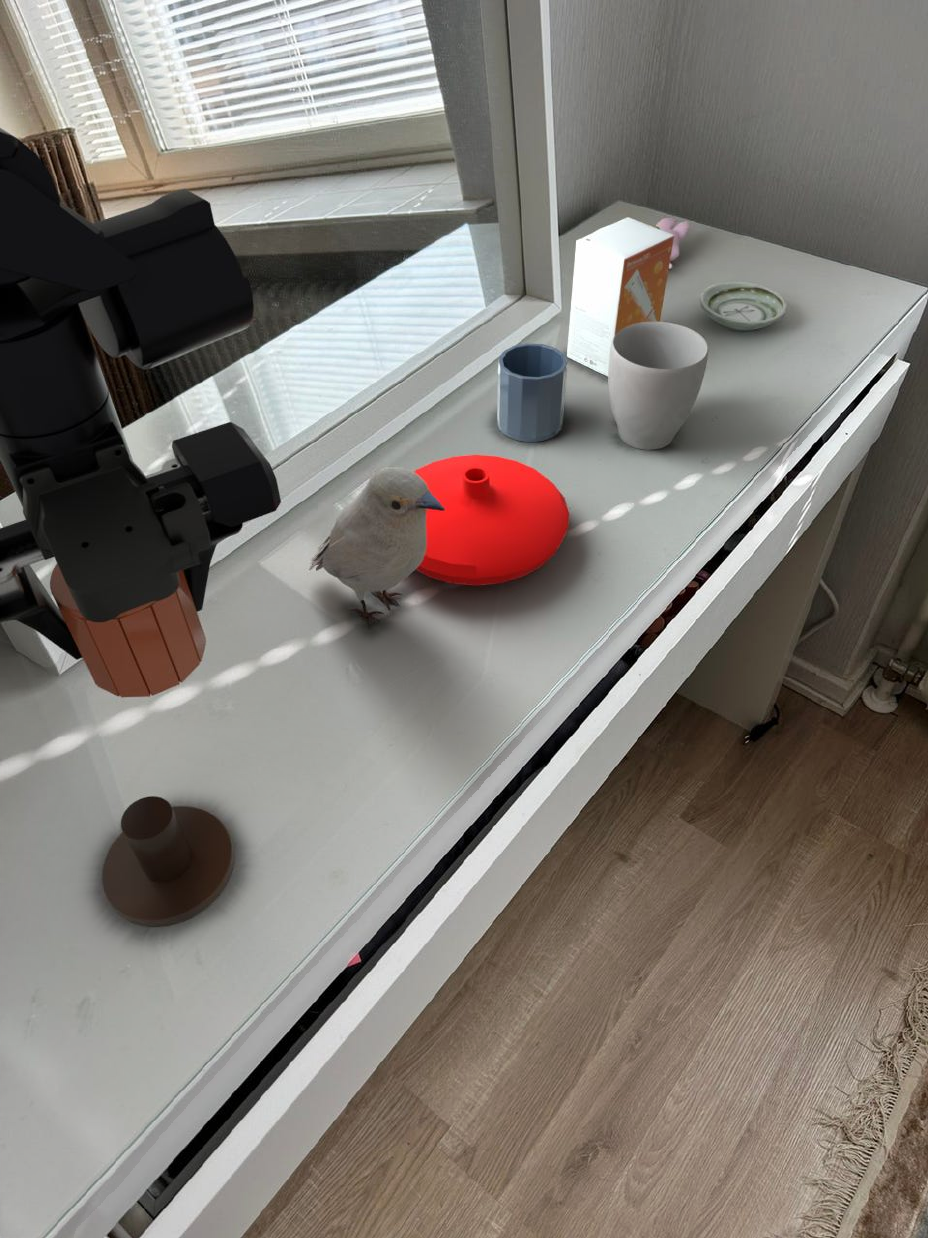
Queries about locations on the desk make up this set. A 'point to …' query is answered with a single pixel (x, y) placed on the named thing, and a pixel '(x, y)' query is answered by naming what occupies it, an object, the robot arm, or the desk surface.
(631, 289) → the small box
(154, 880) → the holder
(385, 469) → the bird
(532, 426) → the slate cup
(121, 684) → the orange ribbed cylinder
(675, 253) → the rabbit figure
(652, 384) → the mug
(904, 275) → the desk surface
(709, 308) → the saucer
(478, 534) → the red disc with nozzle
